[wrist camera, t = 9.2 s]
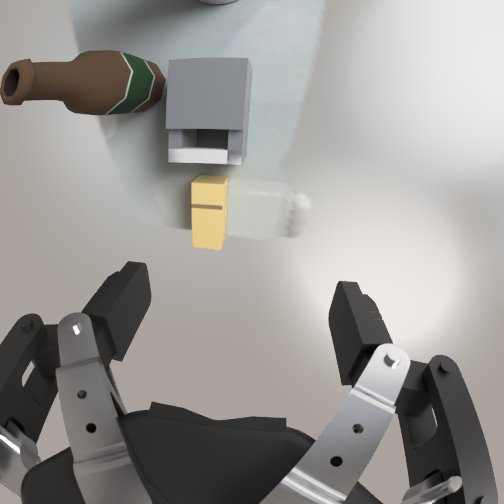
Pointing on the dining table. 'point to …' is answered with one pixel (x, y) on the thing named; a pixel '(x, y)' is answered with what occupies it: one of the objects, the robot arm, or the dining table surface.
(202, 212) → the yellow rectangular block
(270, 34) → the dining table surface
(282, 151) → the dining table surface
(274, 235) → the dining table surface
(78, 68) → the beer bottle
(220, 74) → the dispenser
